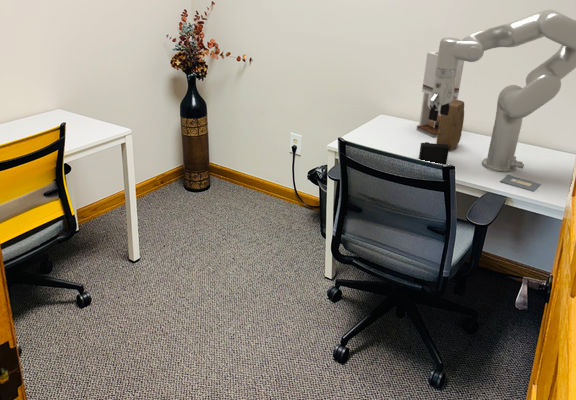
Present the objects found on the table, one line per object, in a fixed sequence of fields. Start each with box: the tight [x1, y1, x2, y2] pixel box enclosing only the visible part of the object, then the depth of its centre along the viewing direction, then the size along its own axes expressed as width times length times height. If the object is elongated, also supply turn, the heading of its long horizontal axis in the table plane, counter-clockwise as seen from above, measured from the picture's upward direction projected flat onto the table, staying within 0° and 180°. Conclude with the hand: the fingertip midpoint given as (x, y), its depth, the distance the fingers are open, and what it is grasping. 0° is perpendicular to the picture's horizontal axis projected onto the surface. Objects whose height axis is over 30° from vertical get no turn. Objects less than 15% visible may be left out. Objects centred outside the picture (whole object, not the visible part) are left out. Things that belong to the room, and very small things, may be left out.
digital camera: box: [418, 141, 450, 165], centre depth 215 cm, size 10×5×7 cm, turn 83°
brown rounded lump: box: [435, 99, 465, 151], centre depth 227 cm, size 11×8×20 cm
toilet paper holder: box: [416, 50, 465, 138], centre depth 240 cm, size 11×11×35 cm
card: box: [499, 174, 542, 192], centre depth 199 cm, size 12×8×1 cm, turn 51°
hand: (438, 117), depth 209 cm, fingers open, 9 cm apart
